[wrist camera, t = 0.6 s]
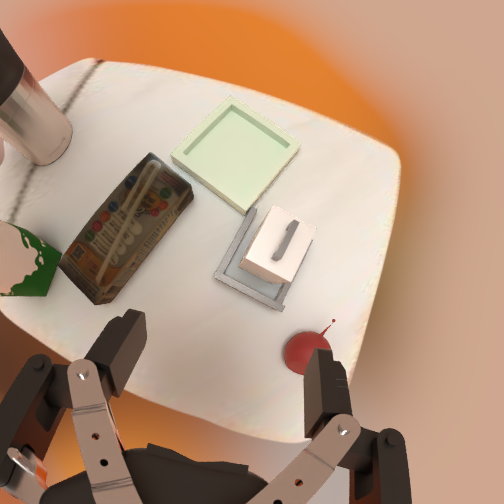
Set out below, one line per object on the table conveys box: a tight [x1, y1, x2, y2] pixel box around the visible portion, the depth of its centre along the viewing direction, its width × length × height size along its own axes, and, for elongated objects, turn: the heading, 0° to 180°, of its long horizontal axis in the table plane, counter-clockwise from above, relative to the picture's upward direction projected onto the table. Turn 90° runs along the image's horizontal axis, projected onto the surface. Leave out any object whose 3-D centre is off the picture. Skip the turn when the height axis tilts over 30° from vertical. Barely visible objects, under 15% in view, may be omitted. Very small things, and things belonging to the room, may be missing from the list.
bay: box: [213, 207, 313, 312], centre depth 37 cm, size 9×10×4 cm
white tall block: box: [238, 205, 317, 284], centre depth 33 cm, size 5×6×13 cm
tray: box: [170, 96, 302, 216], centre depth 39 cm, size 13×13×2 cm
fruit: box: [285, 319, 335, 375], centre depth 36 cm, size 6×6×8 cm
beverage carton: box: [58, 152, 194, 305], centre depth 35 cm, size 8×19×7 cm, turn 141°
